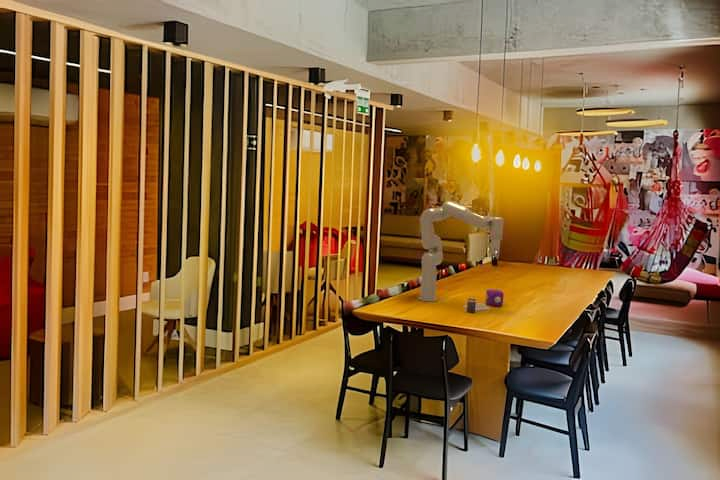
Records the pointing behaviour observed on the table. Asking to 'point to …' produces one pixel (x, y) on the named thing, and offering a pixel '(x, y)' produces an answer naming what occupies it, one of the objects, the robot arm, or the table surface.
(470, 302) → the lens
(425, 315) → the table surface
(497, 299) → the toy camera
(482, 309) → the lens mount
